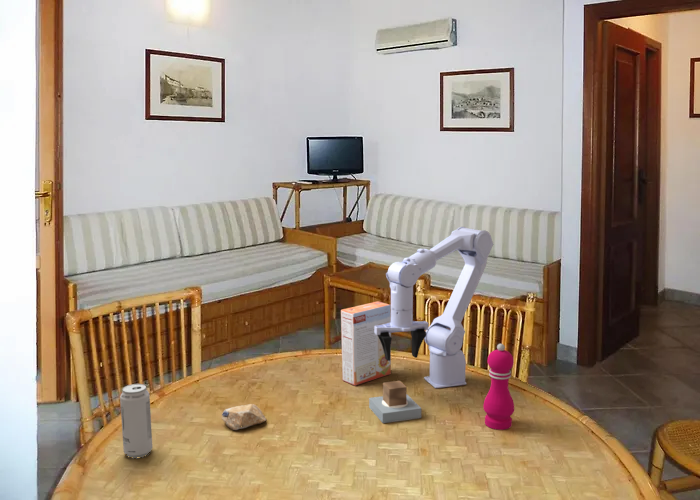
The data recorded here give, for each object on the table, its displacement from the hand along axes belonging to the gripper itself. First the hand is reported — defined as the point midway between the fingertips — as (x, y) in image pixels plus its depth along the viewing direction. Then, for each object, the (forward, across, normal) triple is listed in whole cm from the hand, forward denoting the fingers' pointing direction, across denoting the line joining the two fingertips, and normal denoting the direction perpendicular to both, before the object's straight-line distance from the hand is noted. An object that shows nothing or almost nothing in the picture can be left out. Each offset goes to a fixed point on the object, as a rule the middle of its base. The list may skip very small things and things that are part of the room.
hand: (401, 358), depth 178 cm
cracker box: (+10, -5, +14) cm, 18 cm away
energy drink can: (+10, -67, -14) cm, 69 cm away
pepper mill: (+10, +15, -25) cm, 31 cm away
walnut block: (+7, -6, -11) cm, 14 cm away
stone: (+10, -42, -5) cm, 44 cm away
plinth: (+10, -6, -11) cm, 16 cm away
